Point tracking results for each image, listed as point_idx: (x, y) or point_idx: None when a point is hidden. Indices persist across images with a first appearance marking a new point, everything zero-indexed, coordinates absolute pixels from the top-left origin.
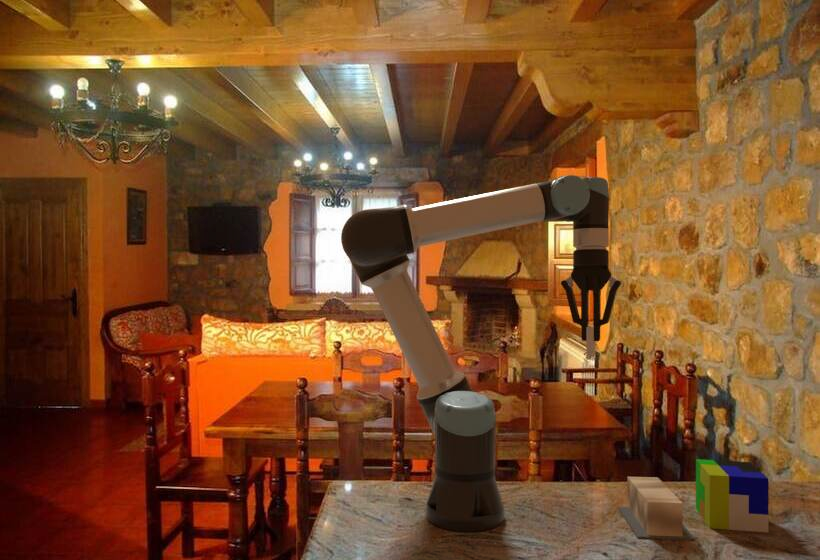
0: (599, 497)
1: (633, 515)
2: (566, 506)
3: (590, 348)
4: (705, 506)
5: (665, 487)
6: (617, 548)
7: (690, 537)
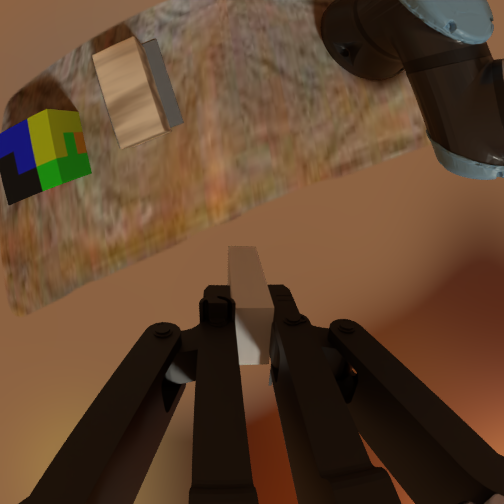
0: (212, 156)
1: (161, 101)
2: (253, 102)
3: (241, 258)
4: (73, 128)
5: (109, 106)
6: (178, 6)
7: None
